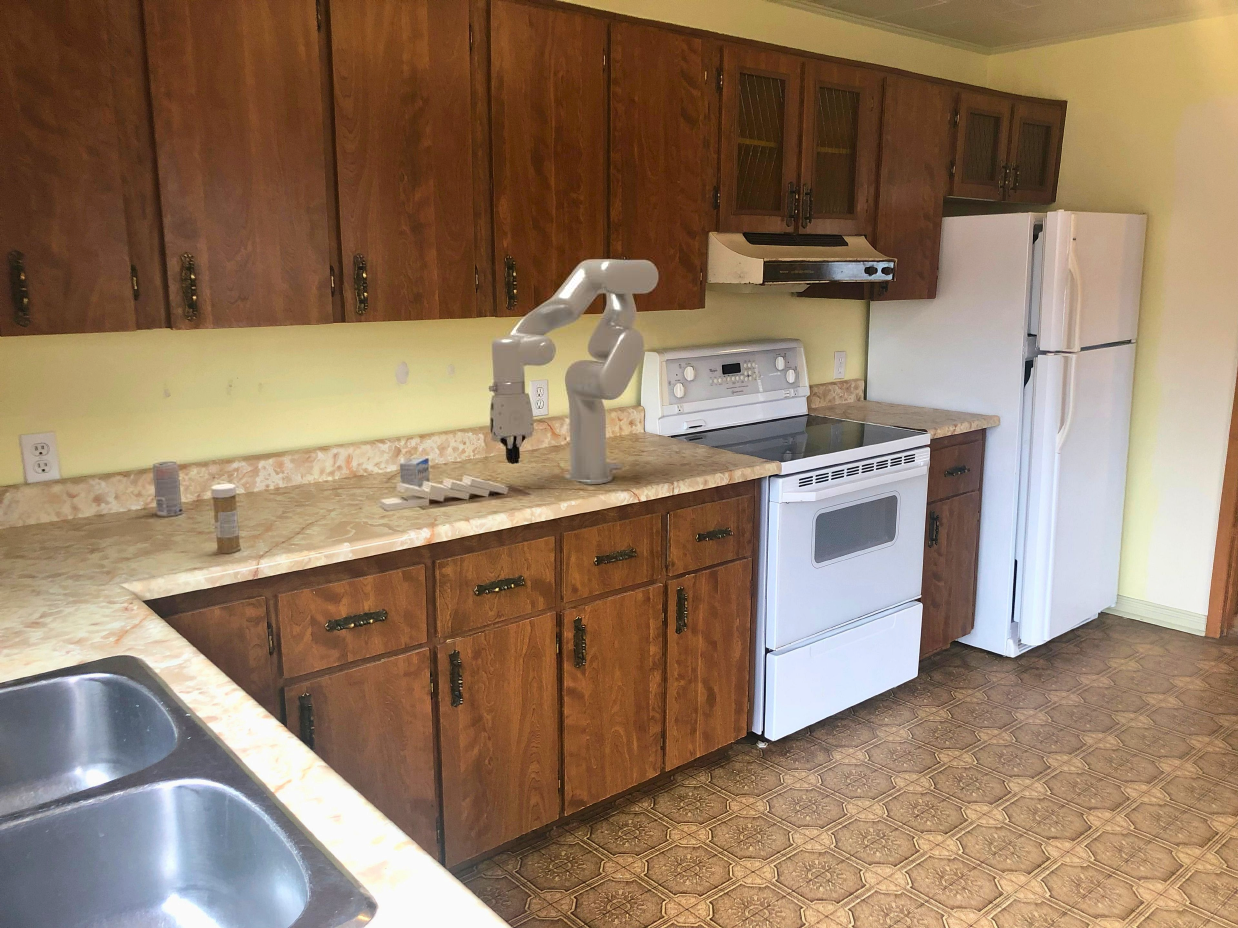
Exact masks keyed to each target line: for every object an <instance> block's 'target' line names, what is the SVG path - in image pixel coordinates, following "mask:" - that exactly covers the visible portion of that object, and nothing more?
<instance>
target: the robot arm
mask: <svg viewBox="0 0 1238 928" xmlns="http://www.w3.org/2000/svg"><path fill="white" fill-rule="evenodd" d="M658 282H659V272H658V269H657V267H656V265H655V264H654V263H653V262H652V261H650V260H647V259H615V258H614V259H612V258H607V259H604V258H603V259H602V258H601V259H599V258H597V259H596V258H595V259H585V260H584V261H582V262H580V263H579V264H578V265H577V266H576V267H575V268H574V269H573V270H572V272H571V274H570V275H569V276H568V277H567V278H566V280H565V281H564V282H563V283H562V285H561V286H560V287H559V288H558V290H557V291H556V292H555V294H553V296H551V298H550V299H548V300H546V301H545V302H544V303H541V304H540V305H539V306H538V307H536V308H534V309H533V310H532V311H530V312H528V313H527V314H526V315H524V317H522V319H520V321H519V322H517V324H516V325H515V326H514V327H513V328H512V330H511V332H509V334H508V336H506V337H497V338H494V339H493V340H492V342H491V359H492V373H493V374H492V375H493V377H492V378H493V382H492V385H489V386H488V391H489V392H492V393H493V394H492V395H491V399H490V409H489V431H490V433H491V436H490V441H492V442H496V443H501V444H502V445H503V447H505V459H506V461H507V463H508V464H512V465H515V464H519V463H520V462H519V461H520V459H521V455H520V453H521V452H520V448H521V446H522V444H523V443H524V441H525V440H526V439H529V438H532V437H533V435H534V434H533V432H534V431H535V421H534V413H533V408H532V402H531V397H530V394H529V393H528V392H526V380H525V379H526V378H525V377H526V376H525V367H526V366H535V367H537V366H539V367H540V366H541V367H542V366H546V365H547V364H550V363H551V361H552V360H554V358H555V356H556V352H557V348H556V344H555V342H554V341H553V340H552V339H551V338H550V337H548V336H546V334H548V333H550V332H552V331H555V330H557V329H560V328H563V327H565V326H568V325H571V324H573V323H575V322H577V321H578V320H579V319H580V318H581V317H582V315H583V314H584V313H585V311H586V310H587V309H588V308H589V306H591V304H592V302H593V301H594V300H595V299H596V297H597V296H598V295H599V294H605V295H606V305H605V309H604V311H603V312H602V315H601V317H600V319H599V320H598V322H597V325H596V326H595V328H594V330H593V332H592V334H591V336H590V338H589V340H588V344H587V353H588V354H589V356H591V358H593V359H594V360H589V359H581V360H577V361H574V362H573V363H572V364H570V365H569V366H568V368H567V369H566V372H565V376H564V383H565V384H564V385H565V389H566V390H565V391H566V394H567V398H568V399H567V400H568V410H569V411H568V413H569V461H570V462H569V464H570V465H569V467H570V472H569V473H566V474H565V475H564V478H566V479H567V480H572V481H574V482H577V483H580V484H583V485H600V484H605V483H609V482H611V481H612V480H613V474H612V472H613V471H621V470H622V469H623V464H622V462H615V463H613V462H610V461H608V460H607V426H606V425H607V424H606V423H607V414H606V407H605V405H604V402H603V400H604V401H613V400H616V399H618V398H620V397H621V396H622V395H623V394H624V393H625V391H626V389H627V388H628V385H629V384H630V382H631V381H632V378H633V376H634V374H635V373H636V371H637V369H638V367H639V364H640V362H641V361H642V358H643V356H644V352H645V340H644V337H643V335H642V333H641V332H640V331H639V330H638V329H636V328H635V327H633V326H634V323H635V322H636V318H637V307H636V303H635V300H634V295H633V294H647V293H650V292H652V291H653V289H654V290H655V288H656V286H657V284H658Z"/></svg>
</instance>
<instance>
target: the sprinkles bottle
mask: <svg viewBox="0 0 1238 928" xmlns="http://www.w3.org/2000/svg"><path fill="white" fill-rule="evenodd" d="M210 490H211V491H210V493H211V494H210V495H211V498H212V503H213V515H214V517H213V518H214V519H213V520H214V529H215V531H214V532H215V537H216V545H217V546H216V547H217V548H216V551H217V553H219V554H232V553H237V552H239V551H241V549H242V546H241V545H240V544H241V541H240V526H239V516H238V515H239V514H238V507H237V498H236V497H237V486H236V485H235V484H233V483H221V484H215V485H212V486H211V487H210Z"/></svg>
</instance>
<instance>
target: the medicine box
mask: <svg viewBox="0 0 1238 928" xmlns="http://www.w3.org/2000/svg"><path fill="white" fill-rule="evenodd" d="M399 473H400V483H403V484H408V485H412V486H417V487H422V486H423V482H424V481H426V482H430V483H431V481H430V479H431V478H430V462H429V458H428V457H412V458H410V459H407V460H405V461H403V462H401V463H399Z"/></svg>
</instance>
